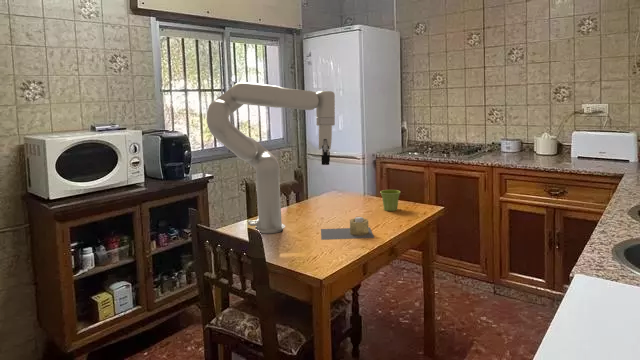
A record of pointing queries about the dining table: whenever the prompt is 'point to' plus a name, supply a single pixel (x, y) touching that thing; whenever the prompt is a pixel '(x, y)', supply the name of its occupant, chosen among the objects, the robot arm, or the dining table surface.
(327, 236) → the piston stand
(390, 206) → the plant pot
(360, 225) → the brass ring
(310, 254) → the dining table surface
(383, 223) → the dining table surface
